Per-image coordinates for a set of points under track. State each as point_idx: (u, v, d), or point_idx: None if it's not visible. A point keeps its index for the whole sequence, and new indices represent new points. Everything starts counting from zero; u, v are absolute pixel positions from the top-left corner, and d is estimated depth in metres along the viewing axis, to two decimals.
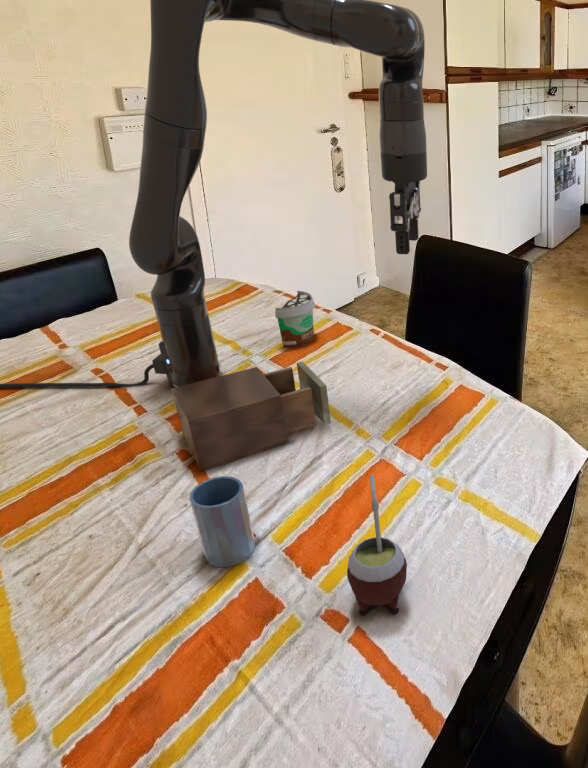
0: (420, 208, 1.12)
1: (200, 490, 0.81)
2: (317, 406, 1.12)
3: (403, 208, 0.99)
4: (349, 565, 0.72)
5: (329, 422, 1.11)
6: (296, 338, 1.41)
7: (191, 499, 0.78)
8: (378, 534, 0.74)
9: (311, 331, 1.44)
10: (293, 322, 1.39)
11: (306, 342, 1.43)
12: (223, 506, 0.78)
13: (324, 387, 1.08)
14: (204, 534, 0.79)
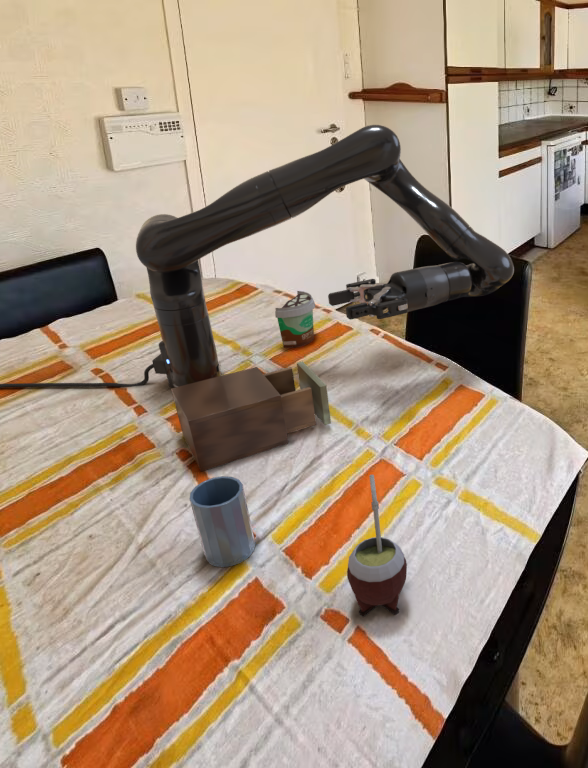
0: None
1: (200, 490, 0.81)
2: (317, 406, 1.12)
3: (397, 314, 1.08)
4: (349, 565, 0.72)
5: (329, 422, 1.11)
6: (296, 338, 1.41)
7: (191, 499, 0.78)
8: (378, 534, 0.74)
9: (311, 331, 1.44)
10: (293, 322, 1.39)
11: (306, 342, 1.43)
12: (223, 506, 0.78)
13: (324, 387, 1.08)
14: (204, 534, 0.79)
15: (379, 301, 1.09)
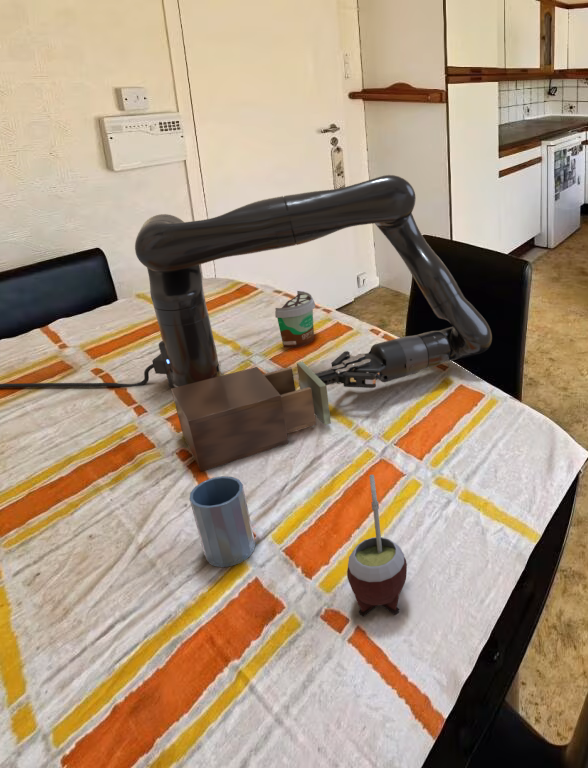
0: None
1: (200, 490, 0.81)
2: (317, 406, 1.12)
3: (363, 386, 1.13)
4: (349, 565, 0.72)
5: (329, 422, 1.11)
6: (296, 338, 1.41)
7: (191, 499, 0.78)
8: (378, 534, 0.74)
9: (311, 331, 1.44)
10: (293, 322, 1.39)
11: (306, 342, 1.43)
12: (223, 506, 0.78)
13: (324, 387, 1.08)
14: (204, 534, 0.79)
15: (349, 371, 1.14)
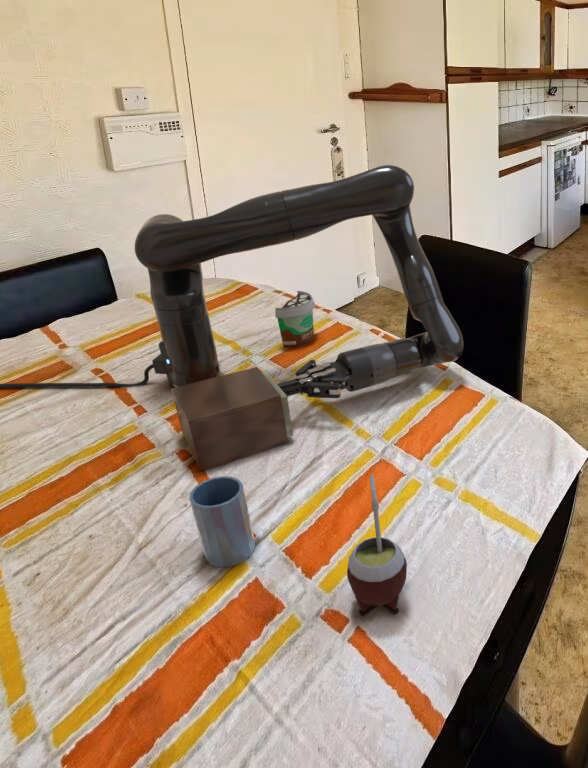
0: None
1: (200, 490, 0.81)
2: None
3: (327, 396, 1.09)
4: (349, 565, 0.72)
5: (291, 434, 1.08)
6: (296, 338, 1.41)
7: (191, 499, 0.78)
8: (378, 534, 0.74)
9: (311, 331, 1.44)
10: (293, 322, 1.39)
11: (306, 342, 1.43)
12: (223, 506, 0.78)
13: (285, 398, 1.04)
14: (204, 534, 0.79)
15: (313, 381, 1.11)
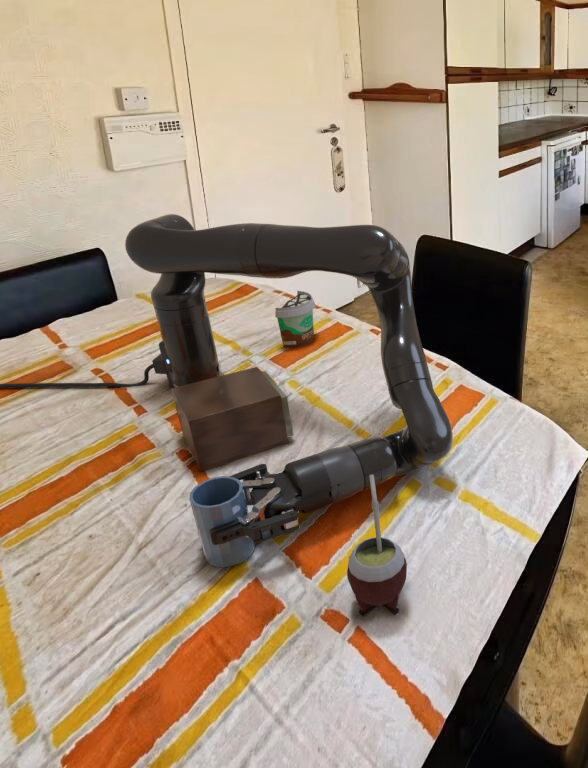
0: None
1: (200, 490, 0.81)
2: None
3: (283, 533, 0.80)
4: (349, 565, 0.72)
5: (291, 434, 1.08)
6: (296, 338, 1.41)
7: (191, 499, 0.78)
8: (378, 534, 0.74)
9: (311, 331, 1.44)
10: (293, 322, 1.39)
11: (306, 342, 1.43)
12: (223, 506, 0.78)
13: (285, 398, 1.04)
14: (204, 534, 0.79)
15: (259, 515, 0.80)
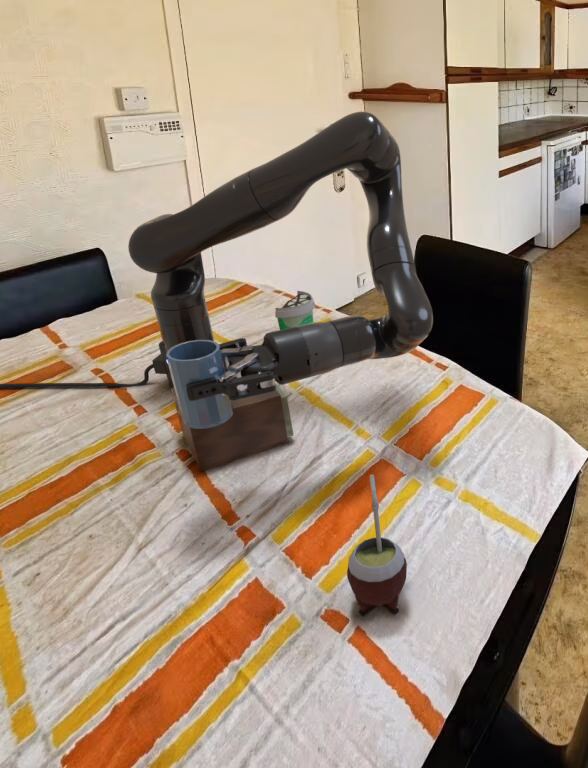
0: None
1: (177, 351, 0.82)
2: None
3: (259, 392, 0.80)
4: (349, 565, 0.72)
5: (291, 434, 1.08)
6: None
7: (167, 355, 0.79)
8: (378, 534, 0.74)
9: None
10: (293, 322, 1.39)
11: None
12: (199, 361, 0.78)
13: (285, 398, 1.04)
14: (181, 392, 0.80)
15: (236, 375, 0.81)
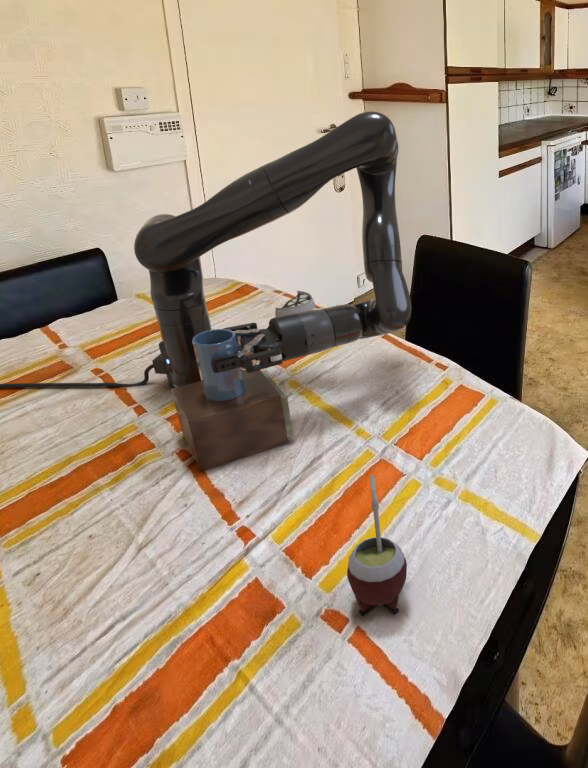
0: None
1: (201, 338, 1.00)
2: None
3: (270, 365, 0.99)
4: (349, 565, 0.72)
5: (291, 434, 1.08)
6: None
7: (193, 341, 0.98)
8: (378, 534, 0.74)
9: None
10: None
11: None
12: (219, 345, 0.97)
13: (285, 398, 1.04)
14: (204, 371, 0.99)
15: (250, 352, 0.99)
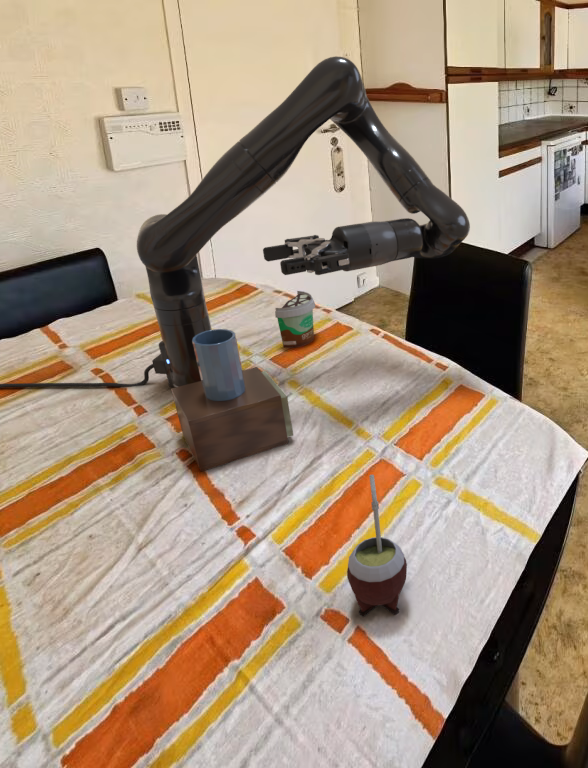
0: None
1: (201, 338, 1.00)
2: None
3: (338, 269, 0.99)
4: (349, 565, 0.72)
5: (291, 434, 1.08)
6: (296, 338, 1.41)
7: (193, 341, 0.98)
8: (378, 534, 0.74)
9: (311, 331, 1.44)
10: (293, 322, 1.39)
11: (306, 342, 1.43)
12: (219, 345, 0.97)
13: (285, 398, 1.04)
14: (204, 371, 0.99)
15: (318, 256, 0.99)
